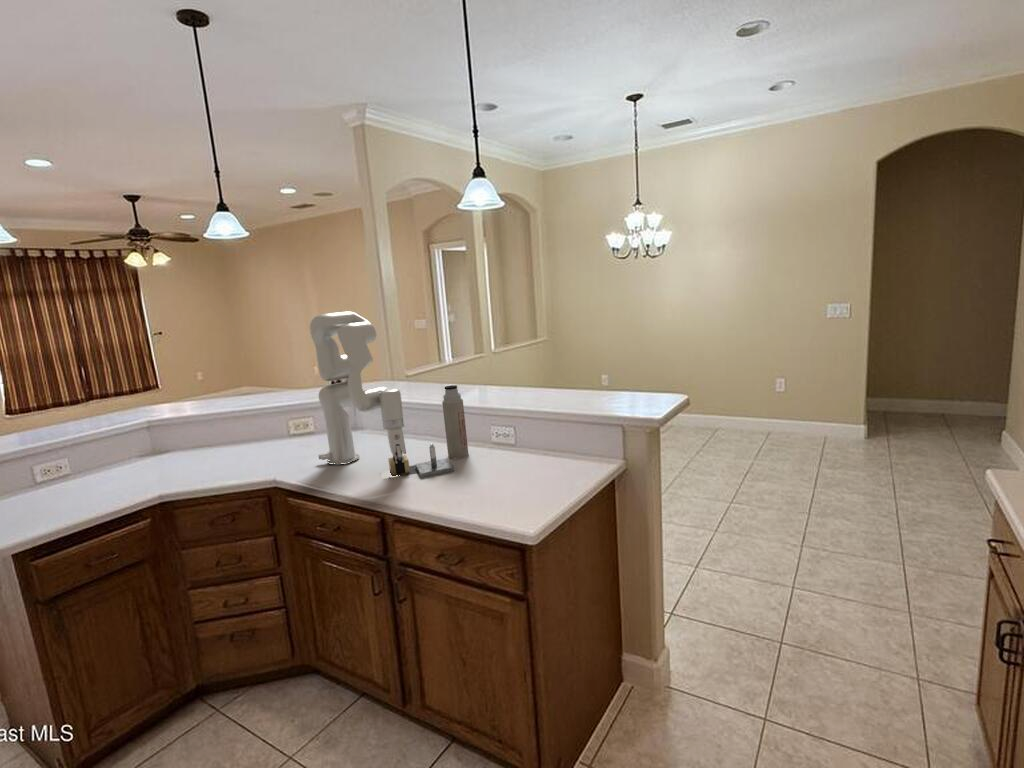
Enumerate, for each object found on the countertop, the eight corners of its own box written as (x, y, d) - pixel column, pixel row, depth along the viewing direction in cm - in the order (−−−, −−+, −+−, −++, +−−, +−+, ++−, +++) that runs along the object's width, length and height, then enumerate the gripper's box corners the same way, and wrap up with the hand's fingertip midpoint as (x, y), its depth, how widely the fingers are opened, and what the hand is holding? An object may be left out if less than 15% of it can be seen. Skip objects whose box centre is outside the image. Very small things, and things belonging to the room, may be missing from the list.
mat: (381, 480, 188) (381, 480, 187) (379, 472, 197) (379, 471, 197) (421, 473, 192) (421, 472, 192) (416, 465, 201) (416, 464, 201)
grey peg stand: (421, 478, 186) (417, 451, 184) (415, 469, 197) (412, 443, 195) (454, 472, 190) (451, 445, 188) (447, 463, 201) (444, 437, 199)
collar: (391, 476, 190) (390, 463, 189) (389, 471, 196) (388, 458, 195) (410, 473, 192) (408, 459, 191) (407, 467, 198) (405, 455, 197)
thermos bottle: (472, 453, 210) (465, 384, 205) (458, 459, 204) (451, 388, 199) (457, 451, 215) (450, 383, 210) (444, 457, 209) (436, 387, 204)
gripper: (407, 426, 184) (413, 475, 187) (400, 416, 200) (406, 462, 203) (385, 430, 182) (392, 479, 185) (380, 420, 198) (386, 465, 201)
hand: (399, 470), depth 194 cm, fingers closed on collar, 6 cm apart
